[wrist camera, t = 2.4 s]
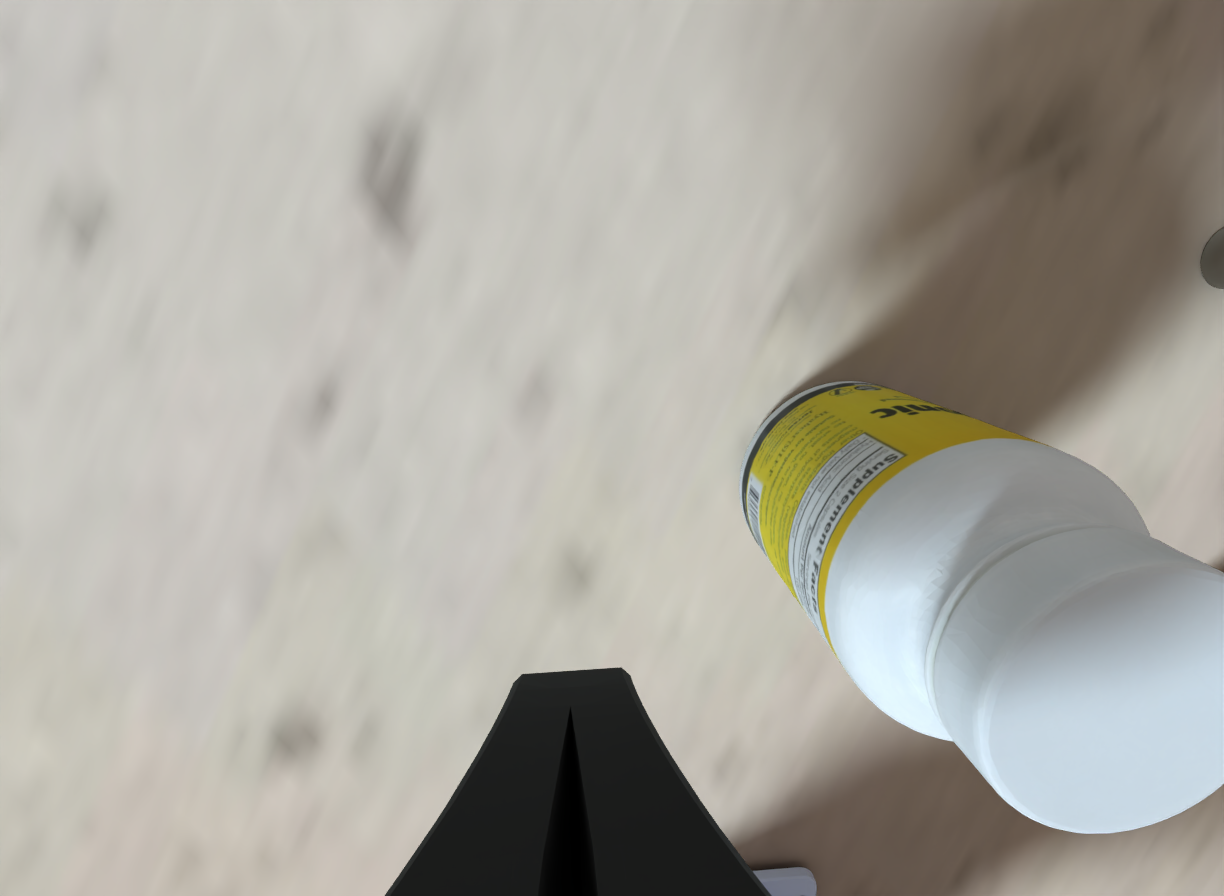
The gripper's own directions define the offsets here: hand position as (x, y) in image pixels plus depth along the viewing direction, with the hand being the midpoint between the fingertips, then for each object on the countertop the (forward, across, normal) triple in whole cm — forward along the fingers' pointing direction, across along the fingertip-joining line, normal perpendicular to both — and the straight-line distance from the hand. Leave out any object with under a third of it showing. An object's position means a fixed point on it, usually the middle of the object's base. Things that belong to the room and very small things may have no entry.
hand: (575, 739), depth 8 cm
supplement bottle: (+10, -7, 0) cm, 12 cm away
